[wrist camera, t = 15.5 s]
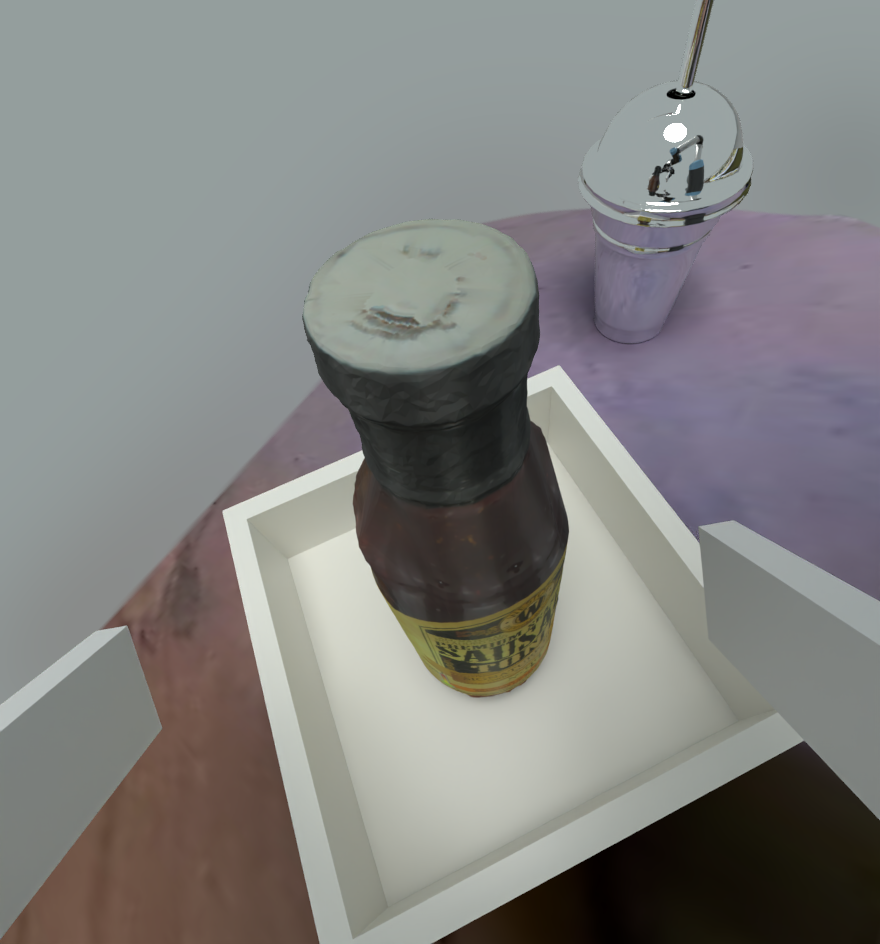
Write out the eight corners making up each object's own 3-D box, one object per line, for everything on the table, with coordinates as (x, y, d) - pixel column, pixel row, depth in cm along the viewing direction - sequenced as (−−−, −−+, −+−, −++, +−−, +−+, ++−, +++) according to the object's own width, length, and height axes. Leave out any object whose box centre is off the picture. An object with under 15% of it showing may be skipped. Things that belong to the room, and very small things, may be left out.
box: (553, 433, 32) (559, 365, 27) (766, 736, 22) (839, 721, 17) (273, 558, 30) (222, 510, 25) (379, 945, 20) (331, 997, 15)
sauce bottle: (471, 733, 23) (299, 557, 6) (396, 620, 26) (151, 302, 9) (584, 641, 24) (694, 291, 8) (500, 544, 27) (445, 146, 11)
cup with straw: (648, 387, 32) (788, -51, 15) (533, 325, 36) (544, -78, 19) (721, 309, 35) (911, -143, 18) (606, 259, 39) (672, -149, 22)
